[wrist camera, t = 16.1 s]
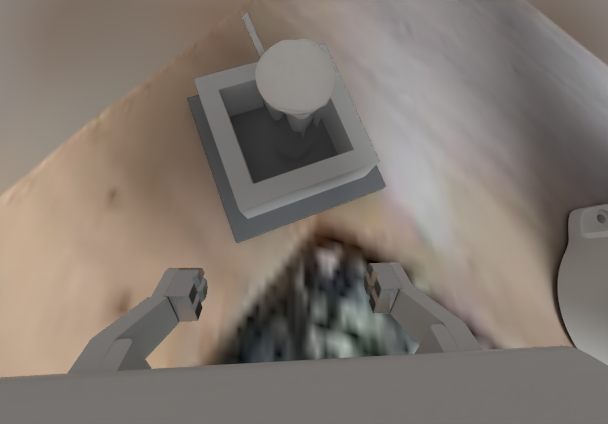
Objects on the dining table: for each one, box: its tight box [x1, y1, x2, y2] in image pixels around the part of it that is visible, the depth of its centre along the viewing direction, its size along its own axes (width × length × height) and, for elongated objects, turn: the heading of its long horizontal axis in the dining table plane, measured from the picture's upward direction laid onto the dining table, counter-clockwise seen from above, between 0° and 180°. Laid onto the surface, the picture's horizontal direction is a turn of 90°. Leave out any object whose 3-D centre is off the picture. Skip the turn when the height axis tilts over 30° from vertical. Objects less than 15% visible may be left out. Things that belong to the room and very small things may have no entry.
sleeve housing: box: [187, 44, 386, 243], centre depth 20 cm, size 14×14×4 cm
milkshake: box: [243, 12, 335, 160], centre depth 16 cm, size 4×5×10 cm
